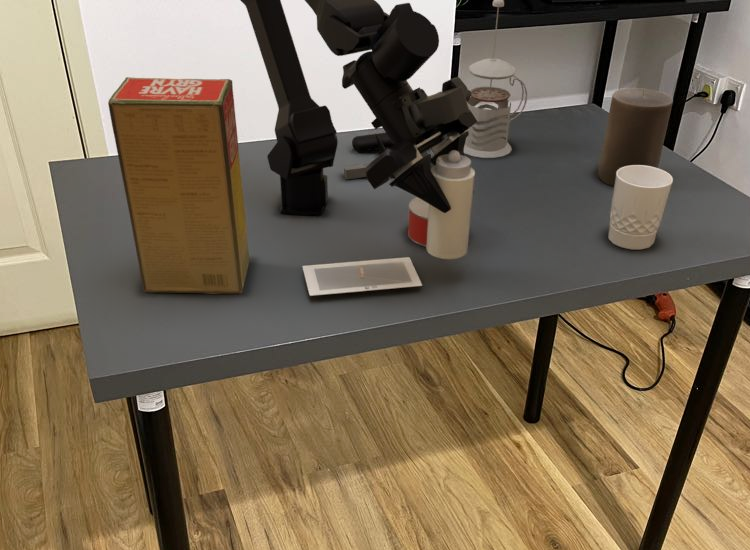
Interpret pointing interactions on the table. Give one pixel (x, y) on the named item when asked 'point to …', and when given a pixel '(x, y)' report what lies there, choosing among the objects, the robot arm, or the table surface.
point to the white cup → (638, 205)
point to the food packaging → (182, 183)
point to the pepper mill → (454, 226)
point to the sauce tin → (418, 221)
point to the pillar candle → (634, 130)
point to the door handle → (369, 143)
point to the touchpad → (360, 276)
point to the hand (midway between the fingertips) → (459, 203)
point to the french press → (491, 107)
